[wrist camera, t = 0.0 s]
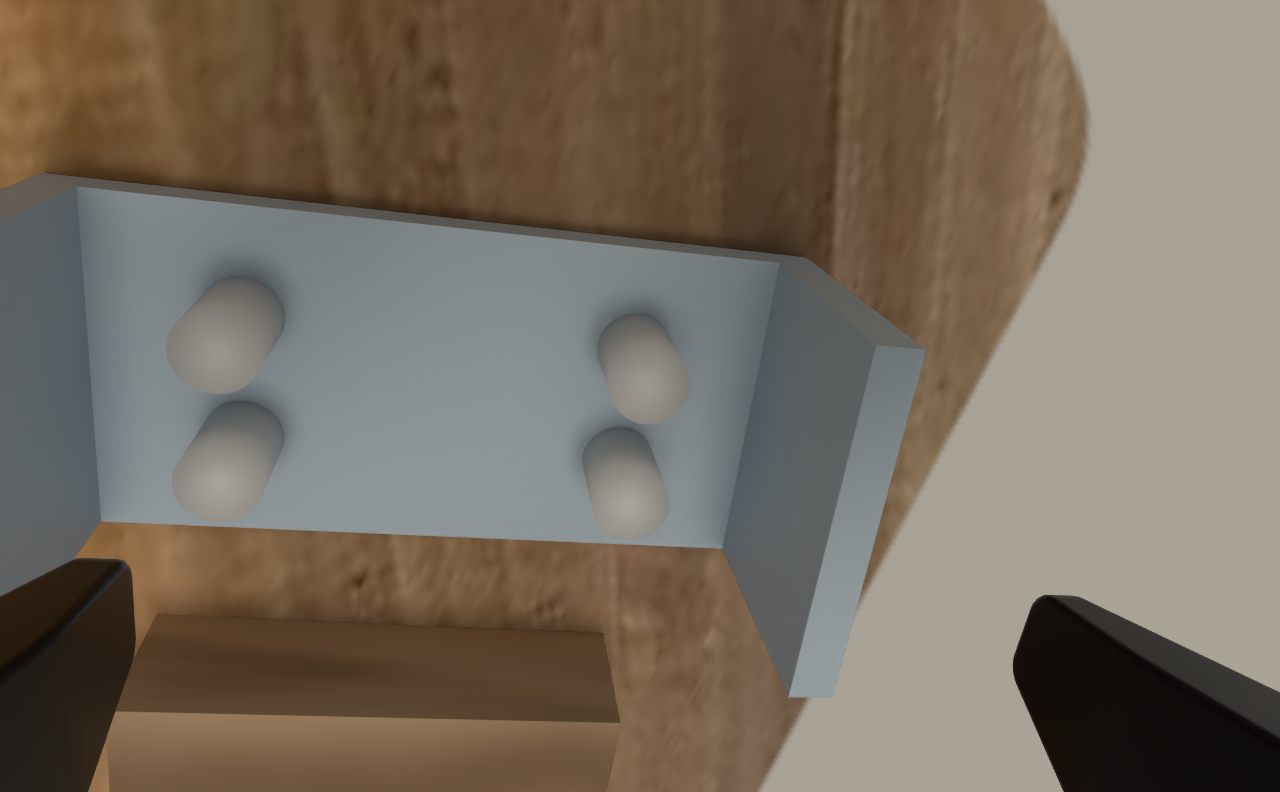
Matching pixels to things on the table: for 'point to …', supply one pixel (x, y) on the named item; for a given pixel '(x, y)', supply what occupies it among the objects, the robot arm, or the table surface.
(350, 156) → the table surface
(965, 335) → the table surface
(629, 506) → the peg rack
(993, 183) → the table surface
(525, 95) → the table surface
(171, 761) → the shelf block
